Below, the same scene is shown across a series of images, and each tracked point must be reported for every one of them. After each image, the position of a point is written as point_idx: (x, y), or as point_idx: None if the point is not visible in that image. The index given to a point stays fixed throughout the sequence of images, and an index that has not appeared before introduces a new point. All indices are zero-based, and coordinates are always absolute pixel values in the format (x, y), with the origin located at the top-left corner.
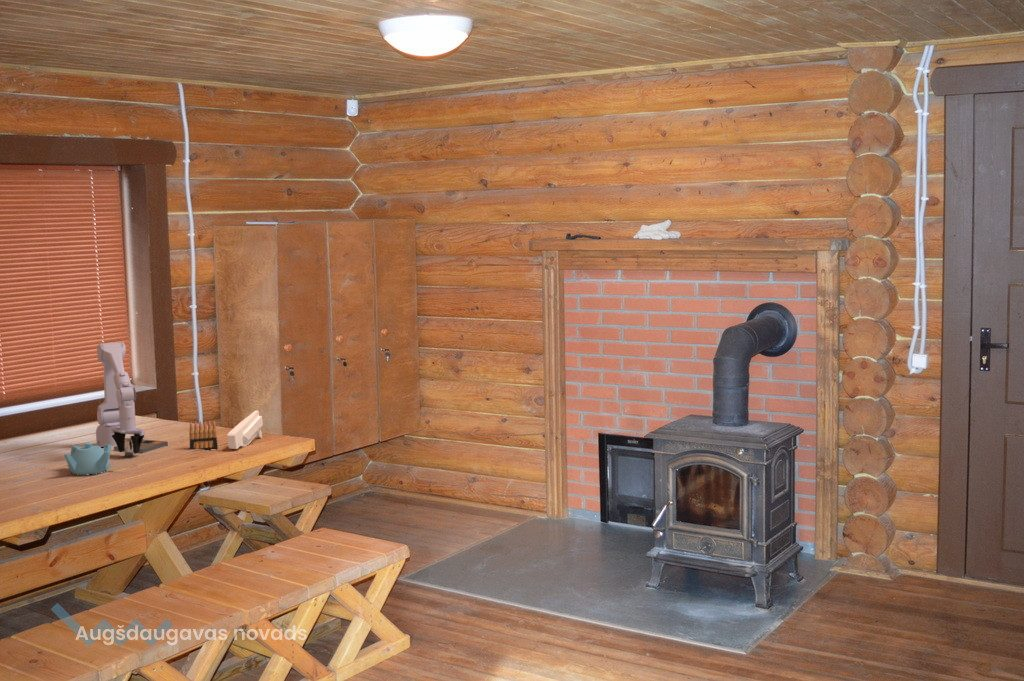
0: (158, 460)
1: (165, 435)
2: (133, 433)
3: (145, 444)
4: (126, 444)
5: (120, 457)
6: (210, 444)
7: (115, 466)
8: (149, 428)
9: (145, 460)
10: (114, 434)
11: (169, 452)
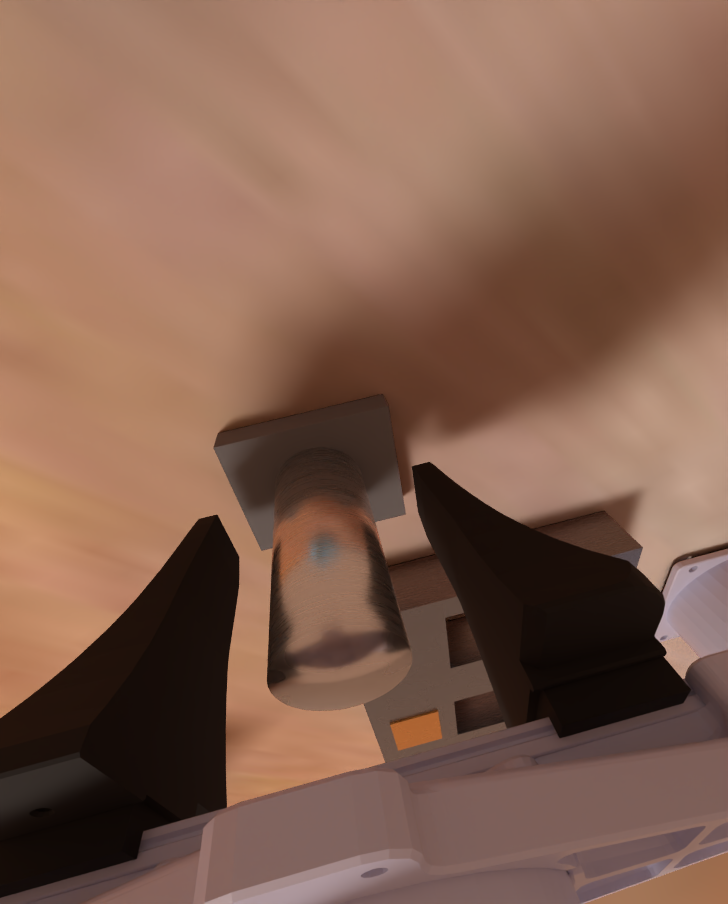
0: (35, 577)
1: None
2: (185, 849)
3: (452, 686)
4: (305, 562)
5: (361, 412)
6: None
7: (61, 107)
8: None
9: (132, 519)
10: (643, 641)
11: (256, 695)
